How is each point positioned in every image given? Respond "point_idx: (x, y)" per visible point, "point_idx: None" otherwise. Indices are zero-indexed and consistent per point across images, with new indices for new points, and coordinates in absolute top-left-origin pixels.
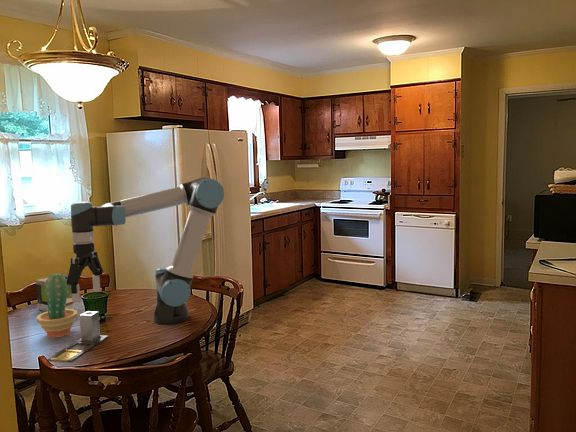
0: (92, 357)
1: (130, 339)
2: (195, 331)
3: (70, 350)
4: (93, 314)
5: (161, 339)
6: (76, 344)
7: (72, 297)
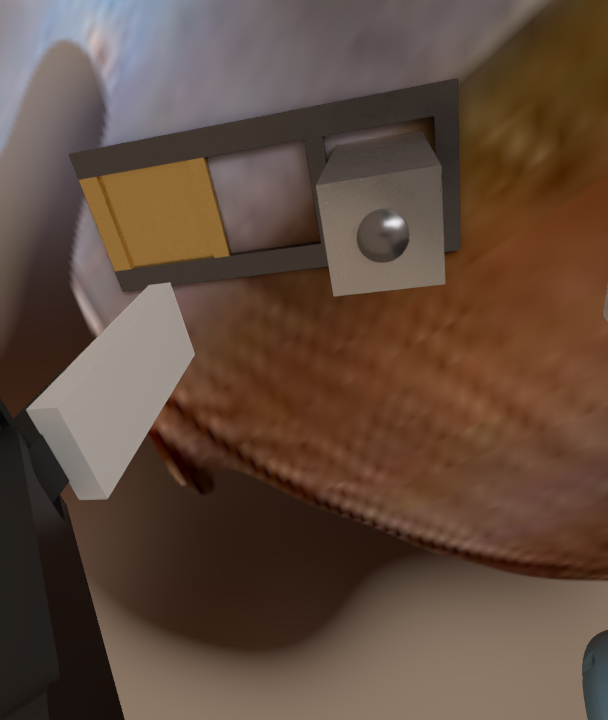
0: (202, 343)
1: (441, 380)
2: (576, 568)
3: (202, 193)
4: (366, 292)
5: (464, 494)
6: (299, 138)
7: (129, 310)
